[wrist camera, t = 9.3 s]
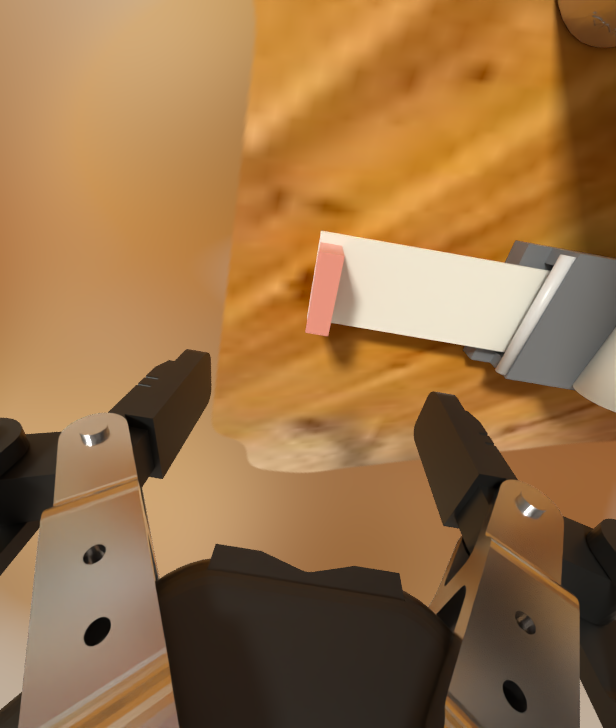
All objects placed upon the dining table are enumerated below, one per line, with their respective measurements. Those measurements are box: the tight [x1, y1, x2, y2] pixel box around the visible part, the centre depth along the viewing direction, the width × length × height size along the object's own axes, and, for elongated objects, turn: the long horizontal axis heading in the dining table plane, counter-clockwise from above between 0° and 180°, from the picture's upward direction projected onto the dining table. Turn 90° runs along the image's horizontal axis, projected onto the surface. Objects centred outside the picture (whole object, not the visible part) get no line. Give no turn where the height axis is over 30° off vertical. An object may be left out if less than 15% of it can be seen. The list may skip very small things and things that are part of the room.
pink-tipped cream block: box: [305, 231, 551, 352], centre depth 23 cm, size 8×20×6 cm, turn 81°
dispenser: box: [463, 241, 616, 412], centre depth 24 cm, size 11×14×9 cm
